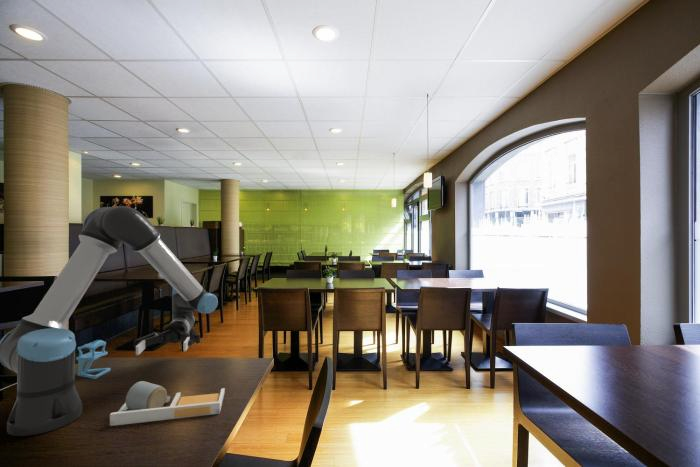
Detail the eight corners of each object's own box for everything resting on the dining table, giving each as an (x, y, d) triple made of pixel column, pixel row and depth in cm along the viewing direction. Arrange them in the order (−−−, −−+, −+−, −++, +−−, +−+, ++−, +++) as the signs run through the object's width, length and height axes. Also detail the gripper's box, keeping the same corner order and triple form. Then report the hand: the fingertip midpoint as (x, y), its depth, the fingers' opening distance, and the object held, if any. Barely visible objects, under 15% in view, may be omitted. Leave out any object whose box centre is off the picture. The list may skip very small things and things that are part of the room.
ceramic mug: (147, 419, 94) (148, 390, 94) (124, 414, 96) (125, 386, 96) (177, 402, 104) (178, 376, 104) (155, 398, 106) (156, 373, 106)
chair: (89, 370, 128) (89, 337, 128) (111, 370, 128) (111, 337, 128) (71, 378, 120) (71, 344, 120) (94, 379, 120) (95, 344, 120)
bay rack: (109, 426, 90) (109, 415, 90) (129, 401, 104) (129, 391, 104) (219, 414, 97) (219, 403, 97) (224, 391, 111) (224, 382, 111)
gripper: (212, 337, 133) (203, 357, 113) (140, 343, 127) (116, 364, 107) (212, 318, 133) (203, 334, 113) (139, 322, 127) (116, 340, 107)
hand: (161, 348), depth 110 cm, fingers open, 13 cm apart
